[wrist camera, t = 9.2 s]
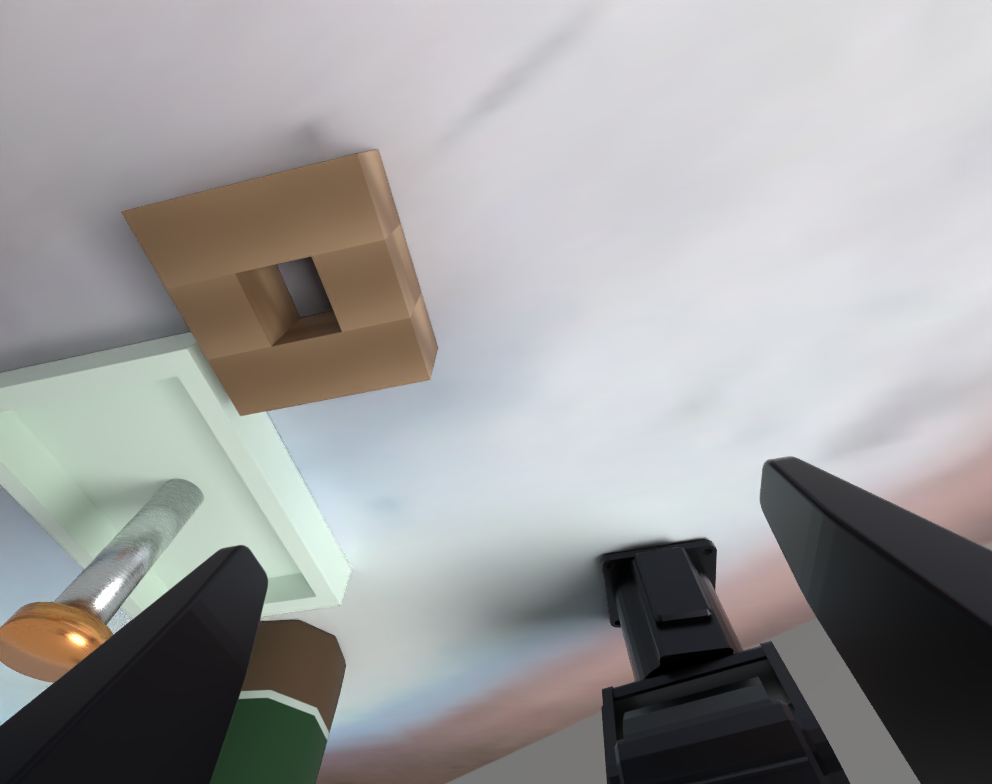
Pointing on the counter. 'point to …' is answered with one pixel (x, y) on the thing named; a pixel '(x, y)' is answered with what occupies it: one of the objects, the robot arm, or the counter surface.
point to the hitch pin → (96, 590)
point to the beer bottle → (283, 707)
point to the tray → (162, 469)
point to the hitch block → (265, 298)
